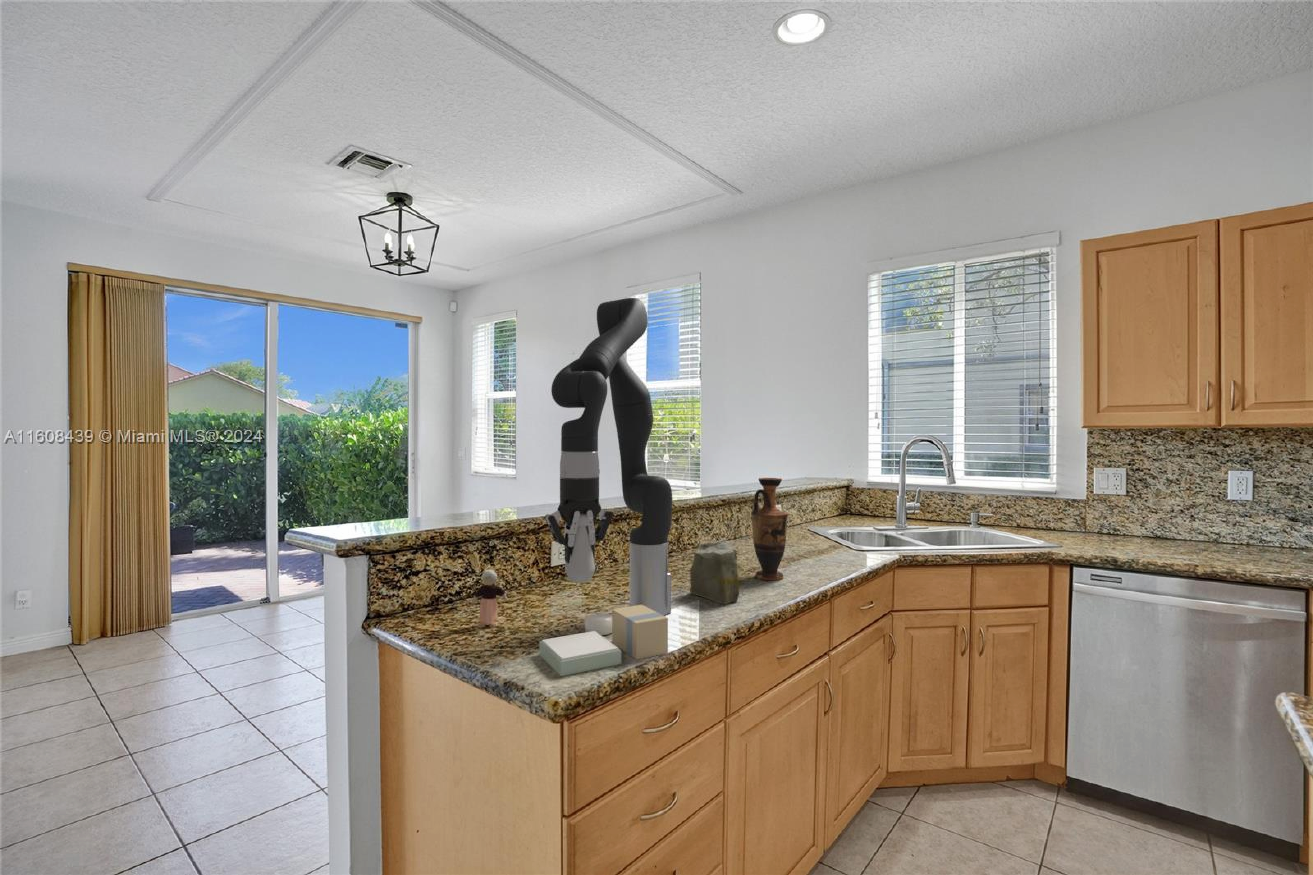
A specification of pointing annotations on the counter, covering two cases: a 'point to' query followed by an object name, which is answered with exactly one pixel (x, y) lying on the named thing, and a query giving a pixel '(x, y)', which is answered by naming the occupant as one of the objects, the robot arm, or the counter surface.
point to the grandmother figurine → (488, 599)
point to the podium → (579, 653)
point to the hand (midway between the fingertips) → (579, 564)
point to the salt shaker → (581, 555)
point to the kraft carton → (640, 631)
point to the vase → (769, 531)
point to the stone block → (715, 572)
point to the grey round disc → (599, 623)
